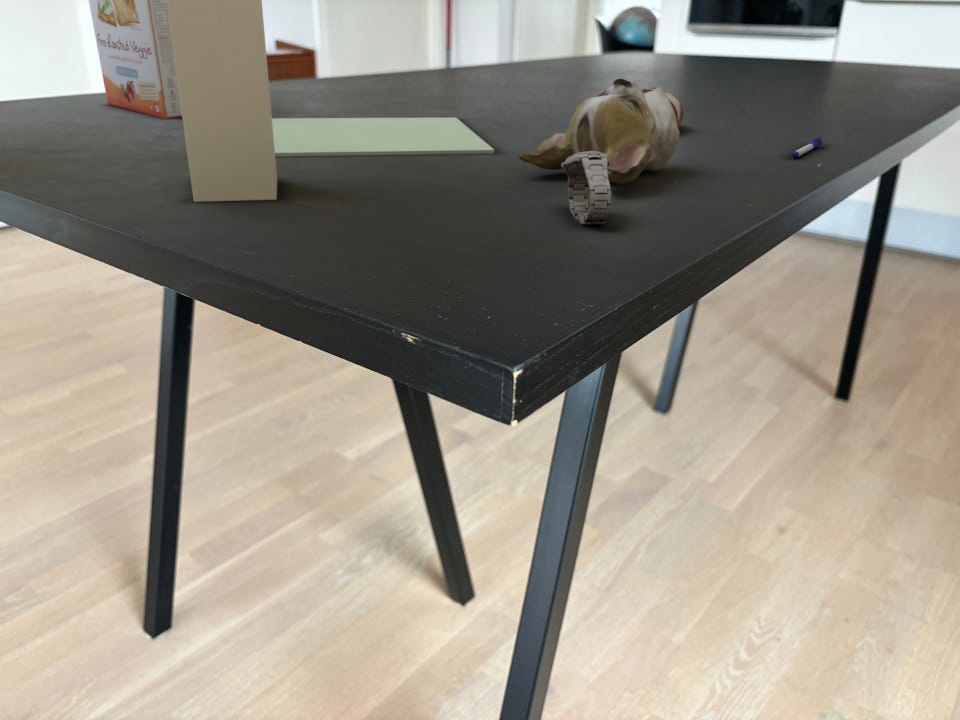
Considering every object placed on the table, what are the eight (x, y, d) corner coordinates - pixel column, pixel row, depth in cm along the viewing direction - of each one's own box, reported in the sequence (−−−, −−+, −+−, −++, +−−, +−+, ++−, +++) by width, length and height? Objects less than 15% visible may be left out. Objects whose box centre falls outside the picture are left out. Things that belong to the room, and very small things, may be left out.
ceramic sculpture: (718, 74, 67) (621, 98, 57) (705, 173, 71) (613, 211, 61) (615, 64, 73) (512, 85, 64) (609, 156, 77) (512, 188, 68)
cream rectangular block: (193, 203, 57) (156, -73, 49) (201, 184, 63) (168, -68, 55) (276, 201, 59) (253, -68, 51) (277, 182, 64) (256, -64, 56)
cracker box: (104, 106, 97) (69, -85, 88) (149, 102, 101) (121, -81, 92) (162, 121, 89) (131, -89, 79) (209, 115, 93) (184, -84, 84)
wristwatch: (596, 209, 59) (602, 143, 57) (620, 233, 54) (628, 161, 52) (551, 209, 59) (556, 143, 57) (571, 233, 53) (578, 161, 51)
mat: (200, 159, 71) (200, 153, 71) (217, 122, 89) (217, 118, 88) (494, 154, 77) (494, 149, 77) (456, 121, 94) (456, 117, 94)
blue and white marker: (814, 144, 87) (816, 135, 86) (822, 145, 86) (824, 136, 86) (790, 158, 79) (792, 148, 79) (799, 160, 79) (801, 150, 78)
